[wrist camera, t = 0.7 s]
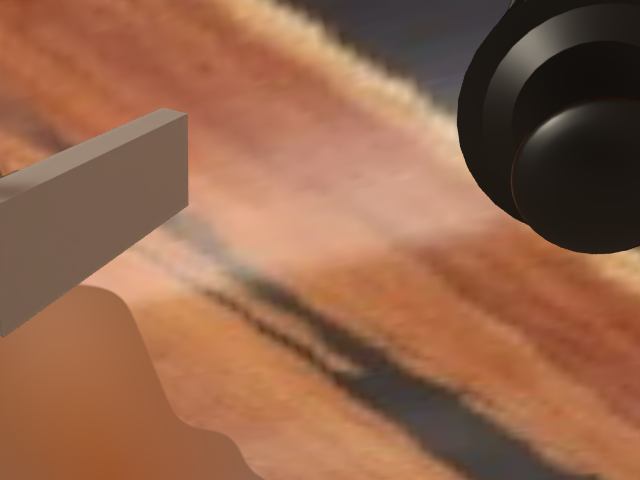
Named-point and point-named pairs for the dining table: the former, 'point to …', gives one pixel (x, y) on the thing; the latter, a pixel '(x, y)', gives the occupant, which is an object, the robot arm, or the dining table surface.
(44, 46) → the dining table surface
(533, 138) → the french press
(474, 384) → the dining table surface
